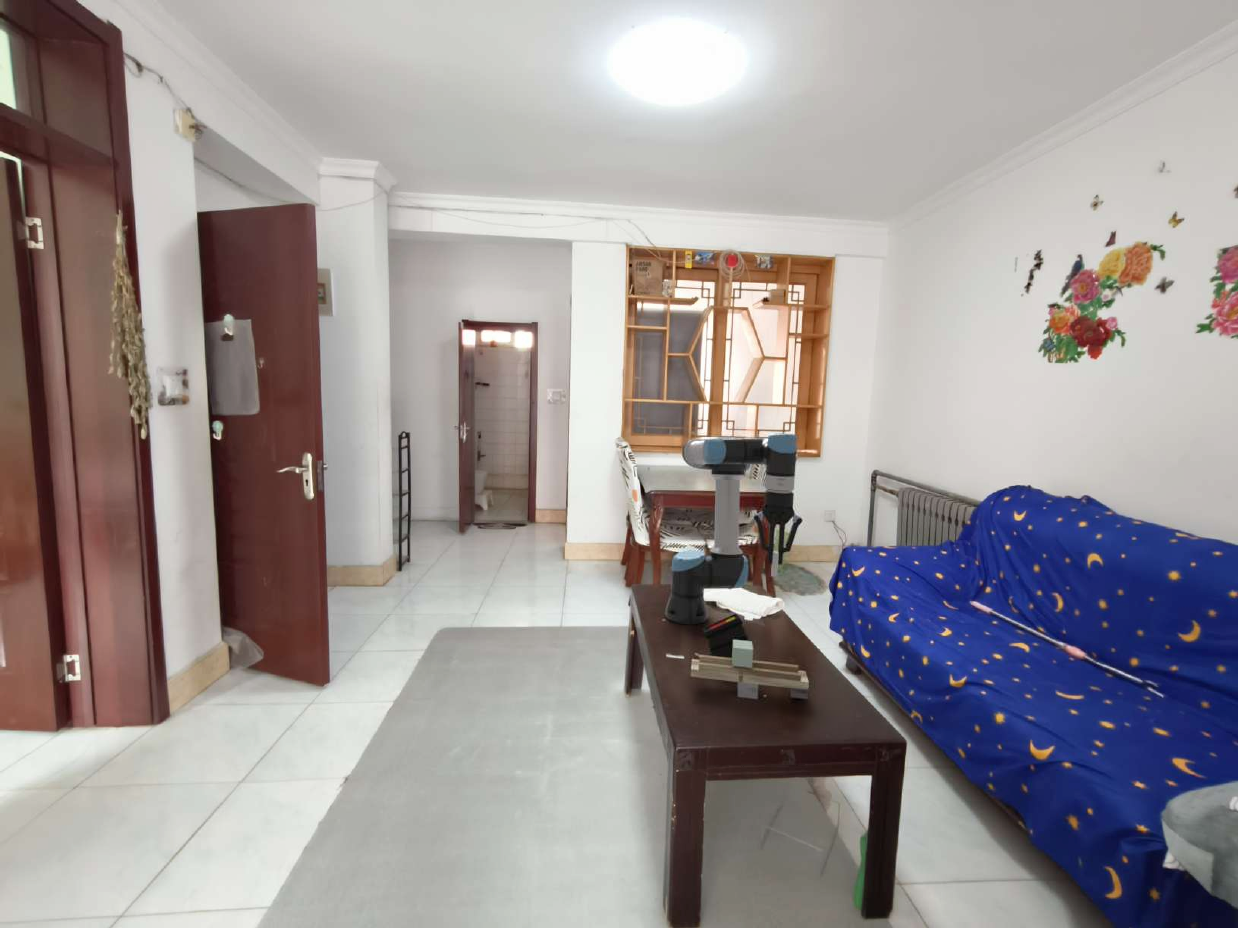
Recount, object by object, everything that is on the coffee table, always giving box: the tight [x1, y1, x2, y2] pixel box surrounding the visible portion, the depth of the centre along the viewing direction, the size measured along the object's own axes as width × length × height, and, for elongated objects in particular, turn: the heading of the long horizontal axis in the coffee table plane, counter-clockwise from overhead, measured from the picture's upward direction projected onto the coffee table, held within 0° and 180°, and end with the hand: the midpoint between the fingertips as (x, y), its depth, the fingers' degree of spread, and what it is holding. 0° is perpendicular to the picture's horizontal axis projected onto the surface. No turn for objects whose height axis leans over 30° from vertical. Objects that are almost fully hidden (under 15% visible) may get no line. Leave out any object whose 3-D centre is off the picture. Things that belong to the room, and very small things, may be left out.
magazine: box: [702, 613, 749, 658], centre depth 159 cm, size 4×13×15 cm, turn 92°
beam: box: [690, 654, 810, 700], centre depth 144 cm, size 6×30×8 cm, turn 80°
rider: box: [732, 640, 754, 668], centre depth 144 cm, size 5×5×7 cm
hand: (774, 575), depth 149 cm, fingers closed
